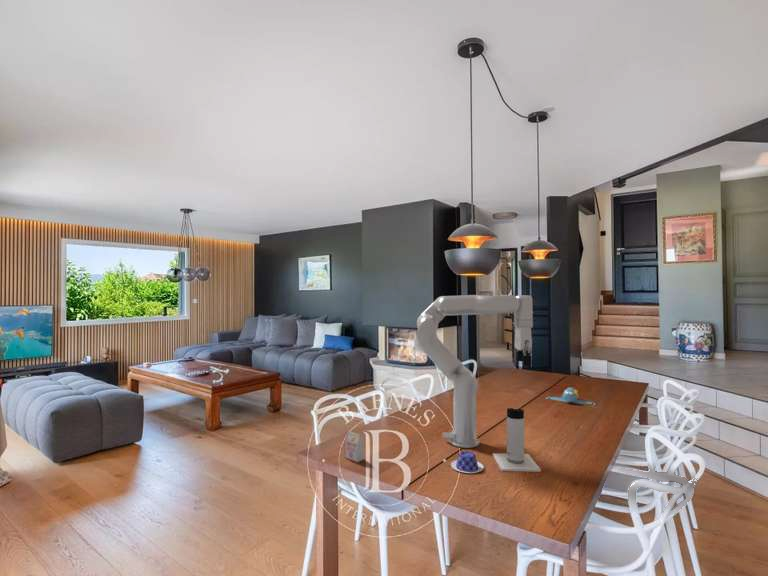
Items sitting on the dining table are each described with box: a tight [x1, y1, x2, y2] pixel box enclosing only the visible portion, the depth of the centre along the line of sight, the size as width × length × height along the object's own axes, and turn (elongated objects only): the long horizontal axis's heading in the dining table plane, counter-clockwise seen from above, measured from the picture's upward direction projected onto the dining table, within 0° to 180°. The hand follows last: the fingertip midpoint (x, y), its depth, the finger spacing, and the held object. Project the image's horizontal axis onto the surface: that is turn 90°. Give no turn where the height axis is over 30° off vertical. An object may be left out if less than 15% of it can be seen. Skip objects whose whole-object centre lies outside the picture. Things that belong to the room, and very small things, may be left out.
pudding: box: [450, 450, 484, 474], centre depth 150 cm, size 12×12×5 cm
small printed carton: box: [344, 430, 364, 463], centre depth 157 cm, size 4×7×10 cm, turn 49°
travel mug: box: [506, 407, 525, 464], centre depth 153 cm, size 6×7×20 cm
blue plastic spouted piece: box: [545, 386, 597, 406], centre depth 240 cm, size 28×9×15 cm
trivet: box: [492, 452, 542, 473], centre depth 153 cm, size 14×14×1 cm
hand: (523, 363), depth 174 cm, fingers open, 9 cm apart
